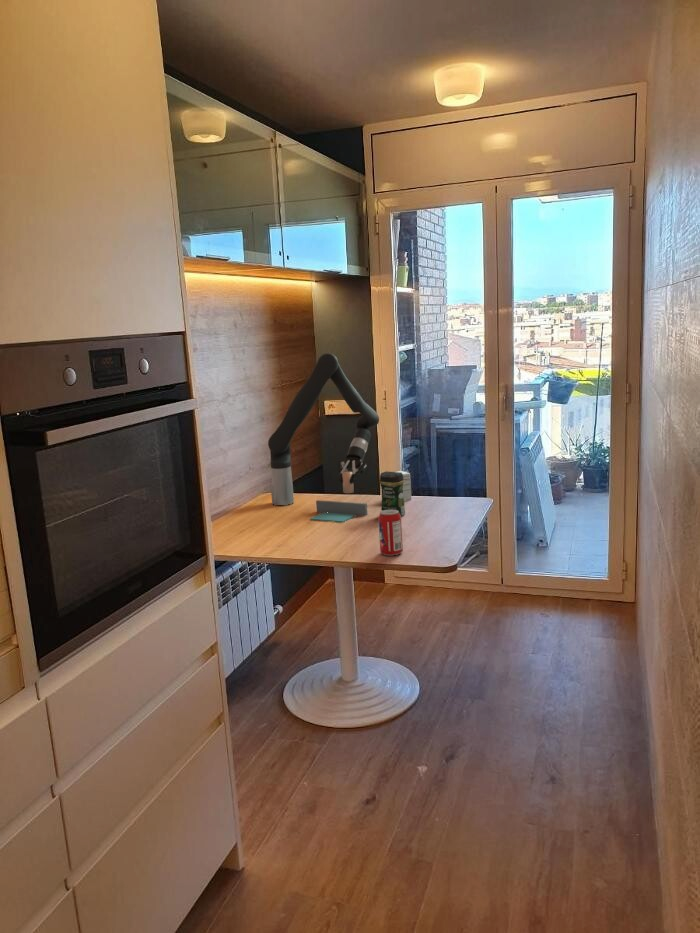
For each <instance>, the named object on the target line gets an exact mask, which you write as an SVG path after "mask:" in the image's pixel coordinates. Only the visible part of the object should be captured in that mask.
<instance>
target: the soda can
mask: <svg viewBox="0 0 700 933" xmlns="http://www.w3.org/2000/svg"><path fill="white" fill-rule="evenodd" d="M377 520H378V535H379V536H378V537H379V550H380V553H381V554H382V555H384V556H387V557H395V556H394V555H396V556H399V555H400V554H402V552H403V551H404V548H403V546H404V545H403V528H402V517H401V515H400V514H399V511H398V510H392V509H390V510H383V511H381V510H380V512H379V515H378V519H377ZM398 554H399V555H398Z"/></svg>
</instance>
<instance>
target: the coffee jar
mask: <svg viewBox="0 0 700 933" xmlns="http://www.w3.org/2000/svg"><path fill="white" fill-rule="evenodd" d="M403 483H404V479H403V474H402V473H400V472H397V471H388V470H387V471H383V472H381V473H380V474H379V484H380V488H381V509H380V512H381V511H383V510H390V509H392V510H398V511H399V514H400V515H401V518H403V516H404V515H405V514H406V508H405V502H404V498H403Z"/></svg>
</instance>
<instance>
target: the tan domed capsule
mask: <svg viewBox="0 0 700 933" xmlns="http://www.w3.org/2000/svg"><path fill="white" fill-rule="evenodd" d="M352 474H353V470H350V471H343V472H342V477H343V483H342V492H343V494H352V493H355V491H354V483H353V484H351V483H350V478H351V476H352Z"/></svg>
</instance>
